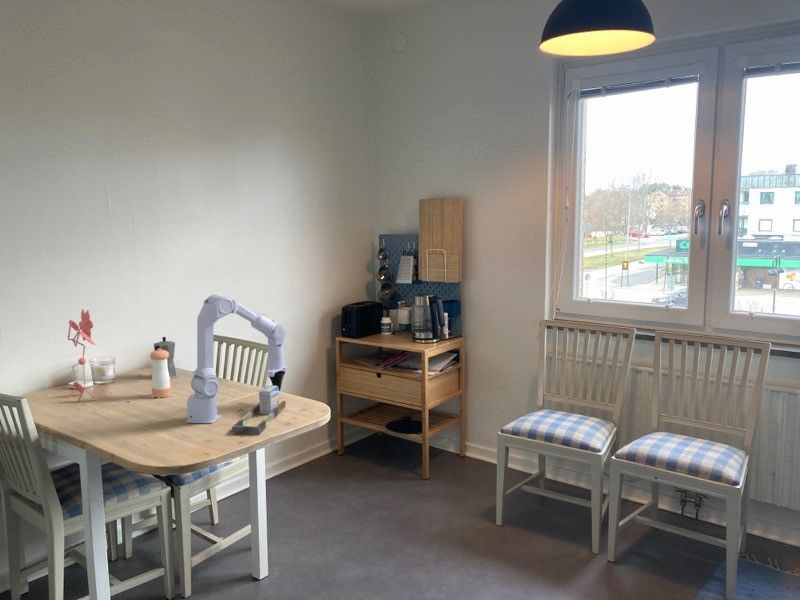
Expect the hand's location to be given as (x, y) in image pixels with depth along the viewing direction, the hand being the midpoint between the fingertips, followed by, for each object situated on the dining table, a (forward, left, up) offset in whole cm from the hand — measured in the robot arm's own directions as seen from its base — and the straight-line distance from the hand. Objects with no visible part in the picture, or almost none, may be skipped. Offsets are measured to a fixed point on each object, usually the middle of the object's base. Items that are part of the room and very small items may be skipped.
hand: (277, 390), depth 245 cm
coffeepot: (-61, +32, -5) cm, 69 cm away
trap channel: (0, -19, -5) cm, 20 cm away
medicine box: (0, -10, -5) cm, 11 cm away
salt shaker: (-49, +5, -5) cm, 50 cm away
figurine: (-76, +1, -5) cm, 76 cm away
